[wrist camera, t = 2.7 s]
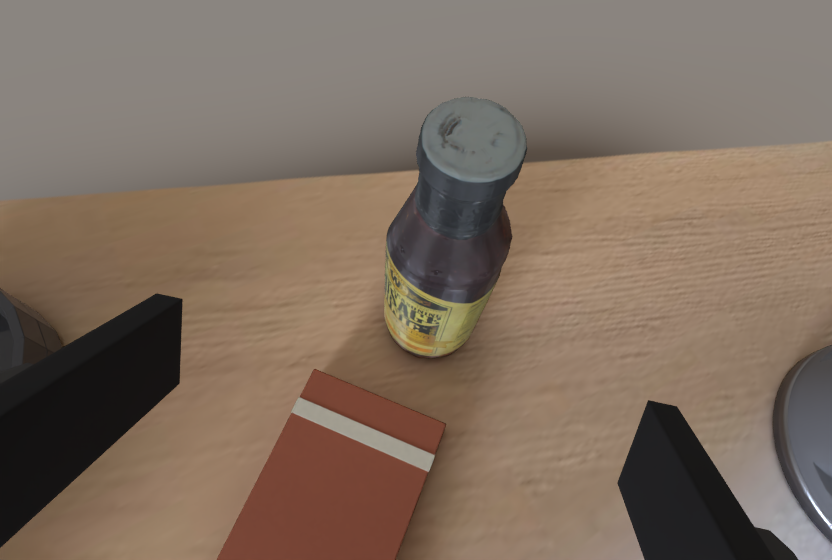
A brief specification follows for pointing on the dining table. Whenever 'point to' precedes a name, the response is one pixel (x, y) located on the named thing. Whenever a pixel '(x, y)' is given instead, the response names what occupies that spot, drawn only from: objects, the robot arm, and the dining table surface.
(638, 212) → the dining table surface
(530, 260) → the dining table surface
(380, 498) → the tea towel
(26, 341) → the pan
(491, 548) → the dining table surface
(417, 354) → the sauce bottle
